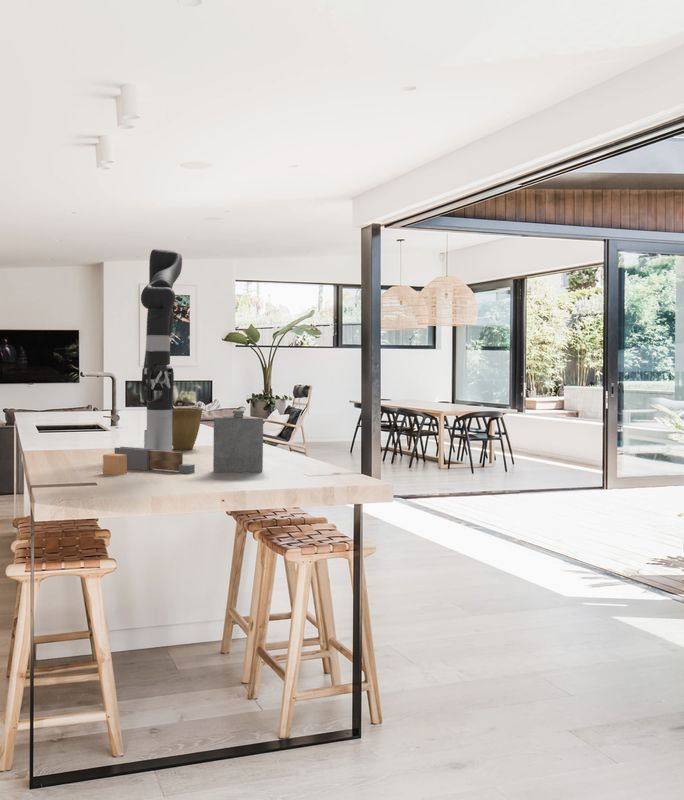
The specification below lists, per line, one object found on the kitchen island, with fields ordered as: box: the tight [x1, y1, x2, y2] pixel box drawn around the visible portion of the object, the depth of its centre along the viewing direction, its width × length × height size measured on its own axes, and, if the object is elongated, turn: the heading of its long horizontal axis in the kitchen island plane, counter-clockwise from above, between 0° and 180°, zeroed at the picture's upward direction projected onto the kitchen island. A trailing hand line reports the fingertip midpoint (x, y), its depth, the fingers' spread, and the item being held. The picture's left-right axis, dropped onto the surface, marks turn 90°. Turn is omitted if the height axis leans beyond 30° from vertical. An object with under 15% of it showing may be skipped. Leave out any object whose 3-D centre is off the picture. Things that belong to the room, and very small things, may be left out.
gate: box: [149, 450, 184, 472], centre depth 278 cm, size 14×1×6 cm, turn 66°
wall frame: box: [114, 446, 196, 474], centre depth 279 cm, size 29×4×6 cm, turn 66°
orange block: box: [102, 453, 128, 476], centre depth 269 cm, size 6×4×6 cm, turn 66°
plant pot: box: [172, 407, 203, 451], centre depth 338 cm, size 15×15×16 cm
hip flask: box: [212, 409, 264, 473], centre depth 278 cm, size 16×4×20 cm, turn 94°
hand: (157, 400), depth 275 cm, fingers open, 8 cm apart
